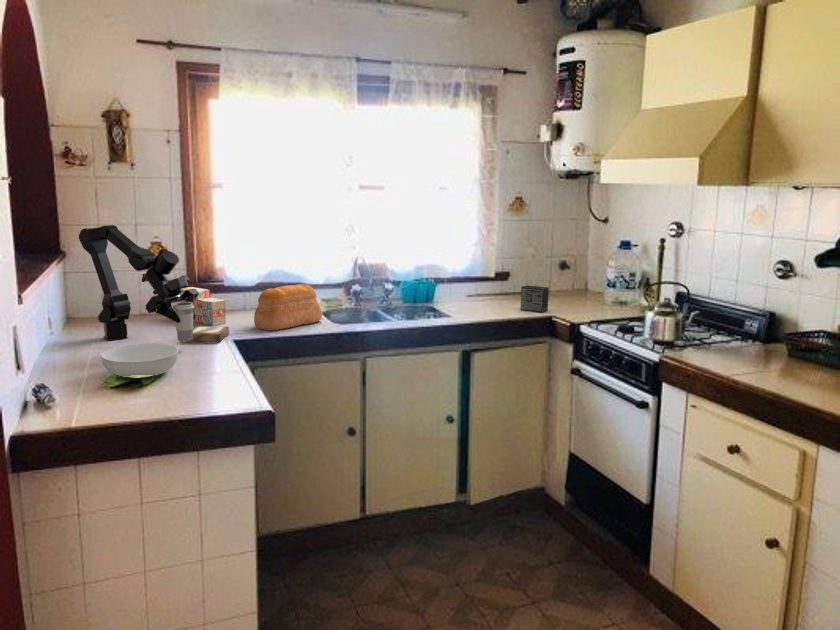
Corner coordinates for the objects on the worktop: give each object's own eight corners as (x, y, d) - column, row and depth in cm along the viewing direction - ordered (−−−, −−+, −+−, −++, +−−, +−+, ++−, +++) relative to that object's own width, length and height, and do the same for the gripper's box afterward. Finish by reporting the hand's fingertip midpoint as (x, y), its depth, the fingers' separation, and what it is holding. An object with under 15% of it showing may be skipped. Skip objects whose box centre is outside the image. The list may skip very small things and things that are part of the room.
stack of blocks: (226, 323, 271) (225, 292, 268) (212, 326, 266) (211, 294, 263) (193, 316, 283) (191, 286, 281) (179, 318, 278) (177, 288, 276)
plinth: (185, 342, 239) (184, 333, 239) (195, 334, 251) (195, 325, 251) (220, 342, 240) (219, 333, 239) (229, 334, 251) (228, 326, 251)
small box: (548, 310, 302) (549, 286, 300) (542, 313, 297) (543, 288, 295) (525, 308, 308) (526, 284, 306) (519, 310, 302) (520, 286, 300)
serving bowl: (97, 387, 189) (95, 363, 188) (107, 367, 209) (106, 345, 208) (178, 382, 195) (176, 358, 194) (181, 362, 215) (179, 341, 213)
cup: (174, 337, 231) (172, 302, 229) (195, 336, 234) (193, 301, 231) (174, 342, 225) (172, 306, 222) (196, 341, 227) (194, 305, 225)
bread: (325, 322, 275) (325, 284, 272) (272, 333, 256) (271, 292, 252) (303, 317, 284) (302, 280, 281) (250, 327, 264) (248, 288, 261)
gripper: (149, 271, 218) (177, 309, 216) (193, 264, 234) (220, 300, 232) (133, 293, 223) (160, 331, 221) (177, 285, 239) (203, 320, 237)
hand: (187, 320), depth 227 cm, fingers closed on cup, 6 cm apart
